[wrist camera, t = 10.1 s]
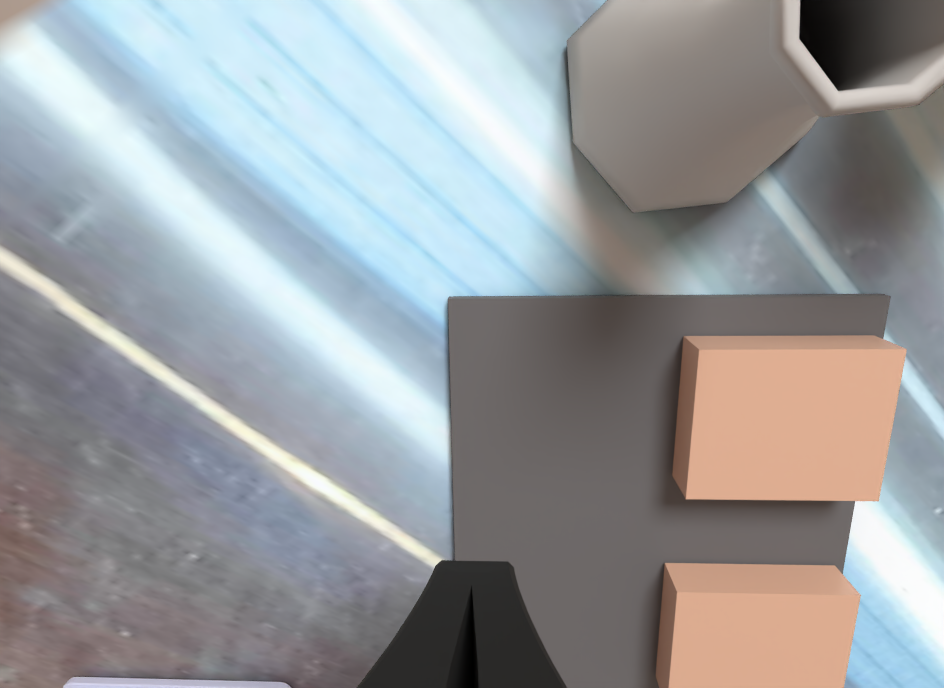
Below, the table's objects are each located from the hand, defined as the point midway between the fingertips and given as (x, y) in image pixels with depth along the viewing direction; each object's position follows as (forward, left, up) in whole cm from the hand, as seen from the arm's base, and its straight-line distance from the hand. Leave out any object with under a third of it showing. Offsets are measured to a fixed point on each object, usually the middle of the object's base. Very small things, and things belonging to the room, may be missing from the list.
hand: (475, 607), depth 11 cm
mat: (+6, -4, -10) cm, 13 cm away
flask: (+6, +10, -11) cm, 16 cm away
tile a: (+6, -8, -9) cm, 14 cm away
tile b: (+6, 0, -9) cm, 11 cm away
